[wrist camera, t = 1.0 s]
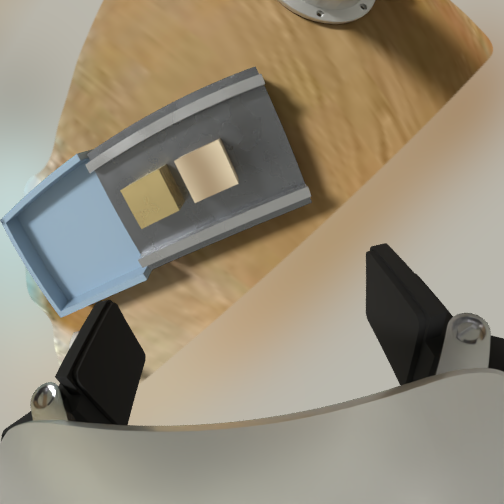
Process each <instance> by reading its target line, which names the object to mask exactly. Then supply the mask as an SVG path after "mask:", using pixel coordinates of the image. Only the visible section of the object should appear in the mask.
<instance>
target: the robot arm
mask: <svg viewBox="0 0 504 504" xmlns="http://www.w3.org/2000/svg"><path fill="white" fill-rule="evenodd" d="M278 1H279V2H280V3H281V4H282V5H283V6H285V7H286V8H288V9H289V10H291V11H292V12H294V13H296V14H298V15H300V16H302V17H304V18H307V19H310V20H313V21H316V22H321V23H327V24H343V23H348V22H352V21H355V20H357V19H359V18H361V17H362V16H364V15H365V14H367V13H368V12H369V11H370V9H371V8H372V7H373V5H374V3H375V0H278ZM317 14H318V15H320V17H319V16H318V15H317ZM366 315H367V319H368V321H369V323H370V325H371V327H372V329H373V331H374V333H375V335H376V337H377V339H378V341H379V342H380V345H381V346H382V349H383V351H384V353H385V355H386V357H387V359H388V361H389V363H390V365H391V367H392V369H393V371H394V373H395V375H396V377H397V379H398V381H399V383H400V385H401V386H398V387H395V388H392V389H389V390H385V391H382V392H379V393H376V394H372V395H369V396H365V397H361V398H357V399H353V400H350V401H346V402H342V403H338V404H334V405H330V406H326V407H321V408H317V409H313V410H307V411H303V412H297V413H292V414H287V415H280V416H274V417H268V418H261V419H253V420H246V421H237V422H228V423H216V424H202V425H180V426H130V425H128V421H129V417H130V413H131V409H132V405H133V401H134V398H135V394H136V391H137V387H138V384H139V380H140V377H141V373H142V370H143V366H144V363H145V353H144V351H143V349H142V347H141V346H140V344H139V342H138V341H137V339H136V337H135V336H134V334H133V332H132V330H131V329H130V327H129V325H128V323H127V322H126V320H125V318H124V316H123V314H122V313H121V311H120V309H119V307H118V305H117V304H116V303H113V302H112V301H111V300H106V301H100V302H97V303H96V304H95V306H94V307H93V309H92V311H91V312H90V314H89V316H88V317H87V319H86V321H85V323H84V324H83V326H82V328H81V329H80V331H79V333H78V335H77V336H76V338H75V340H74V342H73V344H72V345H71V347H70V349H69V351H68V353H67V355H66V356H65V358H64V360H63V362H62V364H61V366H60V368H59V370H58V372H57V374H56V376H55V377H56V379H57V380H58V381H59V382H60V385H59V387H58V386H57V385H56V384H55V383H52V382H48V383H45V384H43V385H41V386H40V387H38V388H37V390H36V391H35V392H34V393H33V395H32V398H31V404H30V406H31V411H30V412H29V413H28V414H26V415H25V416H23V417H22V418H20V419H19V420H18V421H16V422H15V423H13V424H12V425H10V426H9V427H8V428H6V429H5V430H4V431H3V433H2V438H1V443H0V504H504V339H503V338H499V337H495V336H491V333H490V328H489V325H488V323H487V322H486V321H485V320H484V319H483V318H481V317H480V316H478V315H475V314H472V313H461V314H457V315H456V316H454V317H453V316H452V315H451V314H450V313H449V311H448V310H447V309H446V308H445V306H444V305H443V304H442V303H441V302H440V300H439V299H438V298H437V297H436V296H435V295H434V293H433V292H432V291H431V290H430V289H429V287H428V286H427V285H426V284H425V283H424V282H423V281H422V279H421V278H420V277H419V276H418V275H417V274H415V273H414V272H413V271H412V270H411V269H410V268H409V267H408V266H407V265H406V263H405V262H404V261H403V260H402V259H401V258H400V257H399V256H398V255H397V254H396V253H395V252H394V251H393V249H391V248H390V246H389V245H387V244H380V245H376V246H372V247H371V248H370V251H368V252H366Z"/></svg>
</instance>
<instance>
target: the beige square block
mask: <svg viewBox="0 0 504 504" xmlns="http://www.w3.org/2000/svg"><path fill="white" fill-rule="evenodd" d="M174 162H175V164H176V166H177V168H178V170H179V172H180V174H181V176H182V178H183V180H184V182H185V184H186V186H187V188H188V190H189V192H190V194H191V196H192V198H193V200H194V202H195V203H197V202H199V201H201V200H203V199H205V198H207V197H210V196H212V195H214V194H216V193H219V192H221V191H223V190H225V189H228V188H230V187H232V186H235V185H237V184H239V182H238V175H237V173H236V171H235V169H234V166H233V164H232V162H231V160H230V158H229V156H228V153H227V151H226V149H225V147H224V145H223V142H222V140H221V138H220V139H217V140H215V141H213V142H211V143H209V144H206V145H204V146H202V147H200V148H198V149H196V150H194V151H192V152H189V153H187V154H185V155H183V156H181V157H180V158H178V159H177V160H175V161H174Z"/></svg>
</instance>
